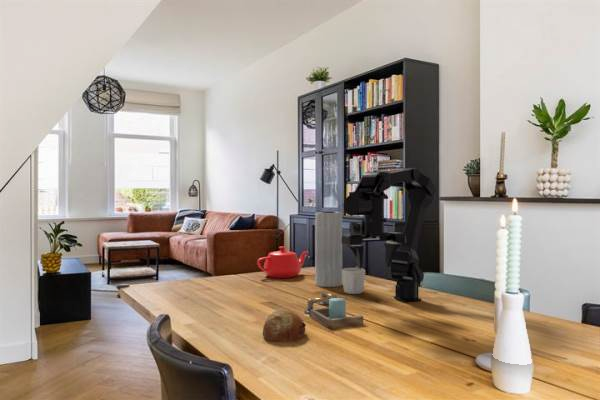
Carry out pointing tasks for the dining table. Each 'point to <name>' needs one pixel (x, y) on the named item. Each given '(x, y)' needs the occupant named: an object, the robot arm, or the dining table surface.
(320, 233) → the vase
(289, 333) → the bread roll
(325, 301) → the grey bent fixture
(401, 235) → the robot arm
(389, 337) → the dining table surface
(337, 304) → the spool
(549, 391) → the dining table surface
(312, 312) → the dock
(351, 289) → the cup
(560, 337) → the dining table surface
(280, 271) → the teapot
